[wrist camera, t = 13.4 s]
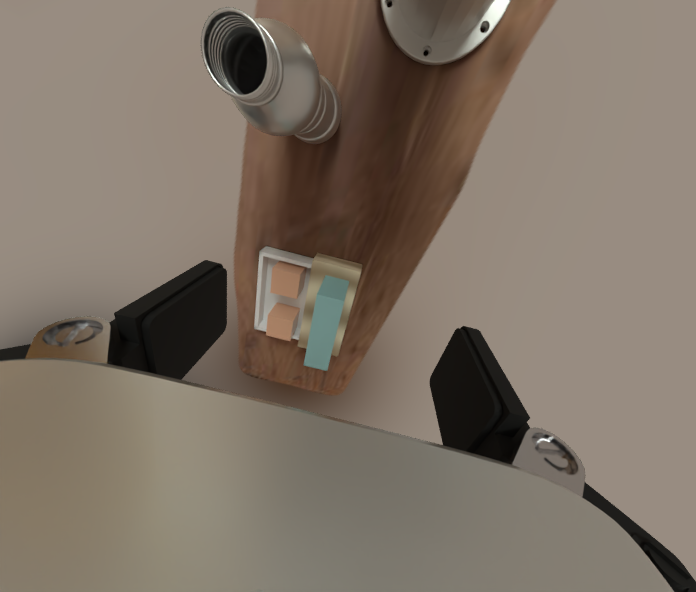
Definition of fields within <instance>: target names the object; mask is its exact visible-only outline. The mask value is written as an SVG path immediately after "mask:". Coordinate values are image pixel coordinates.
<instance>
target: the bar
mask: <svg viewBox="0 0 696 592" xmlns="http://www.w3.org/2000/svg"><path fill="white" fill-rule="evenodd" d="M348 285H349V281H347V280H343V279H339V278H335V277H331V276H327V275H326V276H325V278H324V280H323V282H322V284H321V286H320V288H319V291H318V293H317V296H316V301H315V307H314V312H313V317H312V323H311V328H310V334H309V339H308V344H307V350H306V355H305V360H304V365H305V366H309V367H313V368H317V369H321V370H325V371H327V369H328V365H329V361H330V357H331V353H332V349H333V345H334V341H335V337H336V333H337V329H338V325H339V321H340V317H341V313H342V309H343V305H344V301H345V297H346V293H347V289H348Z"/></svg>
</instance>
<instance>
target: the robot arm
mask: <svg viewBox="0 0 696 592" xmlns="http://www.w3.org/2000/svg"><path fill="white" fill-rule="evenodd" d="M510 1H511V0H381V8H382V13H383V17H384V22H385V24H386V27H387V29H388V32H389V34H390V36H391V38H392V39H393V41H394V42H395V44H396V46H397V47H398V48H399V49H400V50H401V51H402V52H403V53H404V54H405V55H407V56H408V57H410V58H411V59H413V60H414V61H417V62H420V63H423V64H426V65H442V64H448V63H451V62H454V61H456V60H459V59H461V58H463V57H464V56H466V55H467V54H469V53H470V52H472V51H473V50H474V49H475V48H477V47H478V46H479V45H480V44H481V43H482V42H483V41H484V40H485V39H486V38H487V37H488V36H489V35H490V33H491V32H492V31H493V30H494V28H495V27H496V25H497V24H498V22H499V21H500V20H501V18H502V17H503V15H504V13H505V11H506V9H507V7H508V5H509V3H510ZM388 3H391V4H392V7H389V8H388V7H387V4H388ZM480 28H484V33H482V32H481V31H480ZM425 51H427V52H428V55H427V56H424V54H423V53H424V52H425ZM114 315H115V319H114V320H113V321H111V322H108V321H106V320H105V319H102V318H99V317H91V316H84V317H75V318H68V319H64V320H61V321H57V322H55V323H52V324H50V325H48V326H46V327H44V328H43V329H41V330H40V331H39V332H38V333H37V334H36V335H35V337H34V338H33V341H32V343H31V344H29V345H24V346H18V347H13V348H7V349H1V350H0V592H696V581H695V580H694V579H693V577H692V576H691V575H690V573H689V572H688V571H687V569H686V568H685V566H684V565H683V564H682V563H681V562H680V560H679V559H678V558H677V557H676V556H675V555H674V554H673V553H671V552H670V551H669V550H668V549H666V548H665V547H664V546H663V545H662V544H661V543H659V542H658V541H657V540H656V539H655V538H653V537H652V536H651V535H650V534H648V533H647V532H646V531H645V530H643V529H642V528H641V527H640V526H639V525H637V524H636V523H635V522H634V521H632V520H631V519H630V518H629V517H627V516H626V515H625V514H624V513H622V512H621V511H620V510H619V509H617V508H616V507H615V506H613V505H612V504H611V503H610V502H609V501H608V500H606V499H605V498H604V497H603V496H601V495H600V494H599V493H598V492H596V491H595V490H594V489H593V488H591V487H590V486H589V485H588V484H586V483H585V469H584V466H583V464H582V462H581V460H580V459H579V457H578V456H577V455H576V453H575V452H574V451H573V450H572V449H571V448H570V447H569V446H568V445H567V444H566V443H565V442H564V441H562V440H561V439H560V438H558V437H557V436H555V435H554V434H552V433H550V432H548V431H546V430H543V429H540V428H530V427H529V425H528V424H527V421H528V420H529V419H530V417H529V415H528V414H527V412H526V410H525V408H524V407H523V405H522V403H521V402H520V400H519V398H518V396H517V395H516V393H515V391H514V389H513V388H512V386H511V384H510V382H509V381H508V379H507V378H506V376H505V374H504V372H503V370H502V369H501V367H500V365H499V364H498V362H497V360H496V358H495V357H494V355H493V353H492V351H491V350H490V348H489V346H488V344H487V343H486V341H485V339H484V338H483V336H482V334H481V332H480V331H479V330H477V329H473V328H469V327H465V326H463V327H461V328H460V329H459V328H458V329H456V330H455V332H454V334H453V336H452V337H451V340H450V341H449V343H448V345H447V347H446V349H445V351H444V353H443V354H442V356H441V358H440V360H439V362H438V364H437V366H436V368H435V369H434V371H433V373H432V375H431V378H430V388H431V392H432V397H433V401H434V405H435V410H436V415H437V419H438V424H439V428H440V433H441V437H442V442H443V445H439V444H436V443H432V442H428V441H424V440H420V439H416V438H412V437H408V436H405V435H401V434H397V433H393V432H388V431H385V430H381V429H377V428H373V427H369V426H365V425H362V424H357V423H354V422H349V421H345V420H342V419H338V418H334V417H330V416H325V415H322V414H318V413H314V412H310V411H306V410H301V409H298V408H294V407H289V406H285V405H281V404H277V403H273V402H269V401H265V400H261V399H257V398H253V397H249V396H245V395H241V394H237V393H232V392H228V391H224V390H220V389H216V388H212V387H208V386H204V385H199V384H196V383H191V382H187V381H183V380H181V379H182V378H183V377H184V376H185V374H187V373H188V371H189V370H190V369H191V368H192V367H193V366H194V365H195V364H196V362H197V361H198V360H199V359H200V358H201V357H202V356H203V355H204V354H205V352H206V351H207V350H208V349H209V348H210V347H211V346H212V345H213V344H214V342H215V341H216V340H217V339H218V338H219V337H220V336H221V335H222V334H223V332H224V331H225V328H226V324H227V319H226V318H227V271H226V269H224V268H223V266H222V265H221V264H219V263H215V262H211V261H208V260H205V261H203V262H201V263H199V264H198V265H196V266H194V267H192V268H191V269H189V270H187V271H186V272H184V273H182V274H180V275H179V276H177V277H175V278H174V279H172V280H170V281H168V282H167V283H165V284H163V285H162V286H160V287H158V288H157V289H155V290H153V291H151V292H150V293H148V294H146V295H144V296H143V297H141V298H139V299H138V300H136V301H134V302H132V303H131V304H129V305H127V306H126V307H124V308H122V309H120V310H119V311H117V312H115V313H114Z"/></svg>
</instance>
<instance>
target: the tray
mask: <svg viewBox="0 0 696 592" xmlns="http://www.w3.org/2000/svg"><path fill="white" fill-rule="evenodd" d="M313 259H314V258H311V257H307V256H303V255H299V254H295V253H291V252H287V251H283V250H280V249H276V248H272V247H268V246H266V247H264V248H263V249H262V250H260V251H259V266H258V281H257V295H256V310H255V325H254V329H257V330H261V331H265V332H266V329H267V318H268V314H269V313H270V311H271V310H272V308H273V307H274V306H275V304H276V303H277V302H278V303H282V304H286V305H290V306H294V307H298V308H300V312H299V318H298V325H297V328H296V330H295V332H294V334H293V336H292V338H293V339H297V340H299V336H300V330H301V324H302V319H303V313H304V307H305V301H306V296H307V290H308V284H309V278H310V273H311V267H312V261H313ZM279 261H284V262H288V263H292V264H296V265H300V266H304V267H307V270H306V277H305V283H304V288H303V290H302V291H301V293H300V295H299V296H298V298H297V299H294V298H290V297H286V296H282V295H278V294H274V293H270V290H271V278H272V268H273V267H274V266H275V265H276V264H277V263H278V262H279Z"/></svg>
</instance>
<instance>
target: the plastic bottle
mask: <svg viewBox="0 0 696 592" xmlns="http://www.w3.org/2000/svg"><path fill="white" fill-rule="evenodd" d="M201 51H202V56H203V60H204V64H205V66H206V69H207V71H208V73H209V74H210V76H211V78H212V79H213V81H214V82H215V83H216V84H217V85H218V87H220V88H221V89H222V90H223V91H224V92H225V93H227V94H229V95H230V96H231V97H232V100H233V102H234V103H235V105H236V107H237V108H238V110H239V111H240V112H241V113H242V115H243V116H244V117H245V118H246V119H247V121H248V122H249V123H251V124H252V125H253V126H254V127H255V128H257V129H259V130H260V131H262V132H264V133H267V134H270V135H274V136H290V135H293V134H294V135H295V136H296V137H297V138H298V139H300V140H302V141H303V142H306V143H309V144H320V143H323V142H325V141H327V140H328V139H330V138H331V137H332V136H333V135H334V134H335V132H336V131H337V129H338V126H339V124H340V120H341V112H342V109H341V101H340V98H339V95H338V93H337V91H336V89H335V87H334V86H333V84H332V83H331V82H330V81H329V80H328V79H327V78H326V77H324V76H323V75H321V74H319V71H318V67H317V64H316V62H315V59H314V57H313V55H312V53H311V51H310V49H309V47H308V45H307V44H306V42H305V41H304V40H303V38H302V37H301V36H300V35H299V34H298V33H297V32H296V31H295V30H294V29H292V28H291V27H289V26H288V25H286V24H285V23H282V22H279V21H277V20H273V19H268V18H256V19H253V18H252V17H251V16H249V15H248V14H246V13H244V12H243V11H241V10H239V9H236V8H231V7H225V8H220V9H218V10H216V11H214V12H213V13H212V14H211V15H210V16H209V17H208V19H207V21H206V22H205V24H204V27H203V30H202V36H201Z"/></svg>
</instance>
